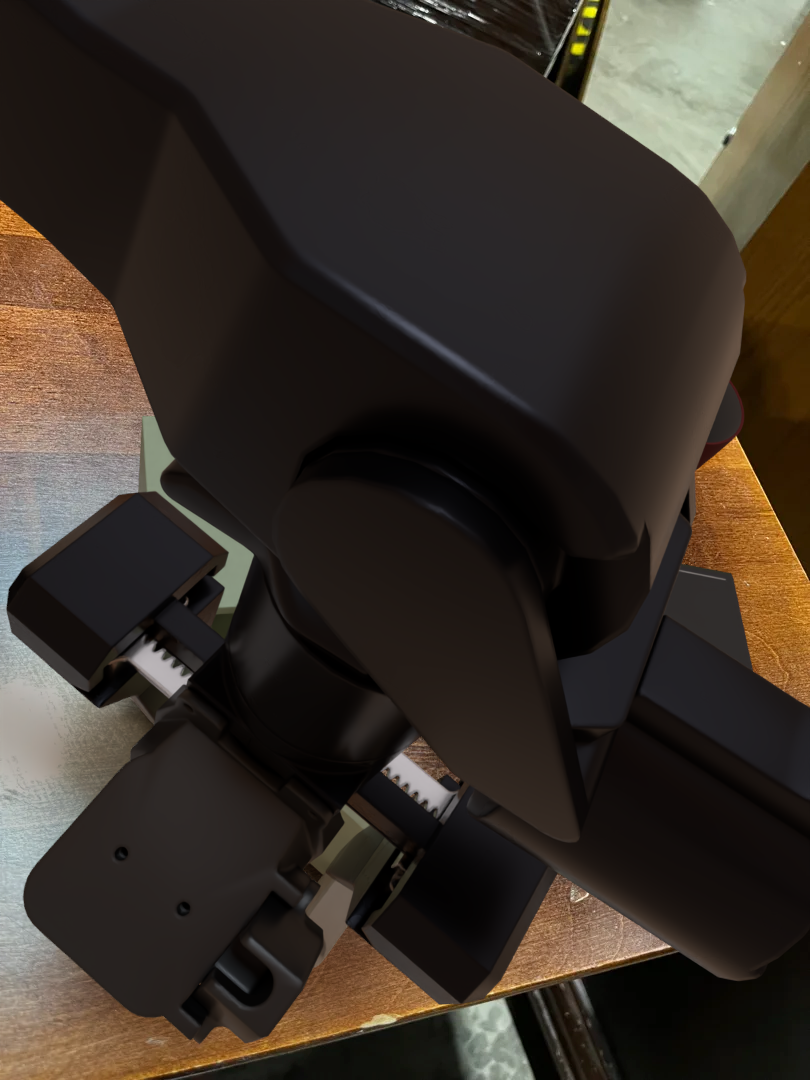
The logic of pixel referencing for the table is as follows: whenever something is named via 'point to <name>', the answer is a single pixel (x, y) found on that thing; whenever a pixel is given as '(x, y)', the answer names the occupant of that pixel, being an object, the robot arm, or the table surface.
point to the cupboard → (239, 557)
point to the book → (710, 609)
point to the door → (333, 886)
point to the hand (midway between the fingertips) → (249, 789)
